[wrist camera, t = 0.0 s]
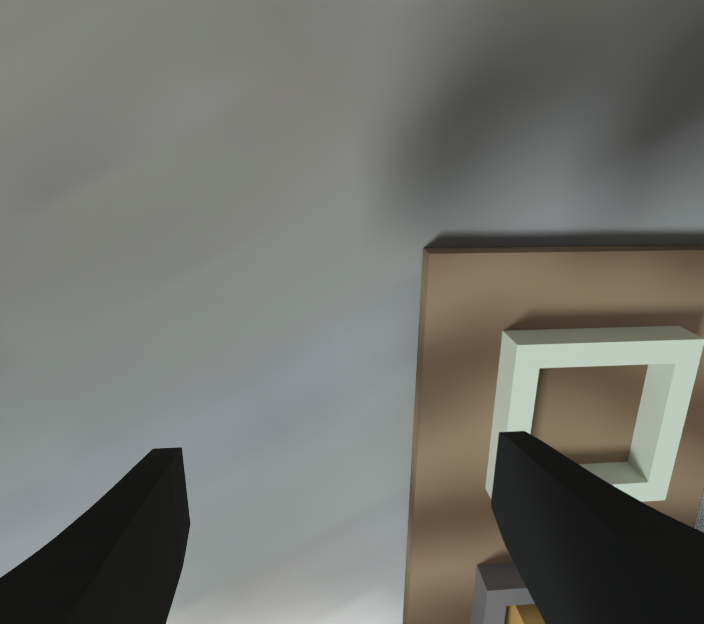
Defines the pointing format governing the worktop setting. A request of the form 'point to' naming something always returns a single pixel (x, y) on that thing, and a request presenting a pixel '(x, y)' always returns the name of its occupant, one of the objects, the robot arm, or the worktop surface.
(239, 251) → the worktop surface
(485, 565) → the grey square frame
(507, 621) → the plug
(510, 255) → the switch board
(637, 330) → the pale green square frame
